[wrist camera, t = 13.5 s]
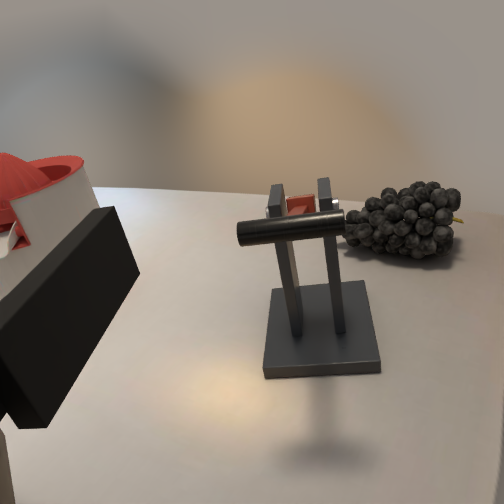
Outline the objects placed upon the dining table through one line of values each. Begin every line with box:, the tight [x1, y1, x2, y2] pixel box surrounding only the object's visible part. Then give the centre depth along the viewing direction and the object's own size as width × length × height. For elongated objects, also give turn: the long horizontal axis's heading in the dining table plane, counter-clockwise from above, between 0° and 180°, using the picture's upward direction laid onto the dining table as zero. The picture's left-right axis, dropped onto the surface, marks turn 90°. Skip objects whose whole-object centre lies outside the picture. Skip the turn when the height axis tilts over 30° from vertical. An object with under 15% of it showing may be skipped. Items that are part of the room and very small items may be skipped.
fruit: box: [342, 181, 464, 259], centre depth 51 cm, size 9×8×15 cm
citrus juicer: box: [0, 153, 100, 299], centre depth 51 cm, size 16×17×20 cm
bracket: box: [263, 177, 381, 378], centre depth 39 cm, size 12×10×15 cm
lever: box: [237, 194, 346, 247], centre depth 31 cm, size 14×6×2 cm, turn 174°
